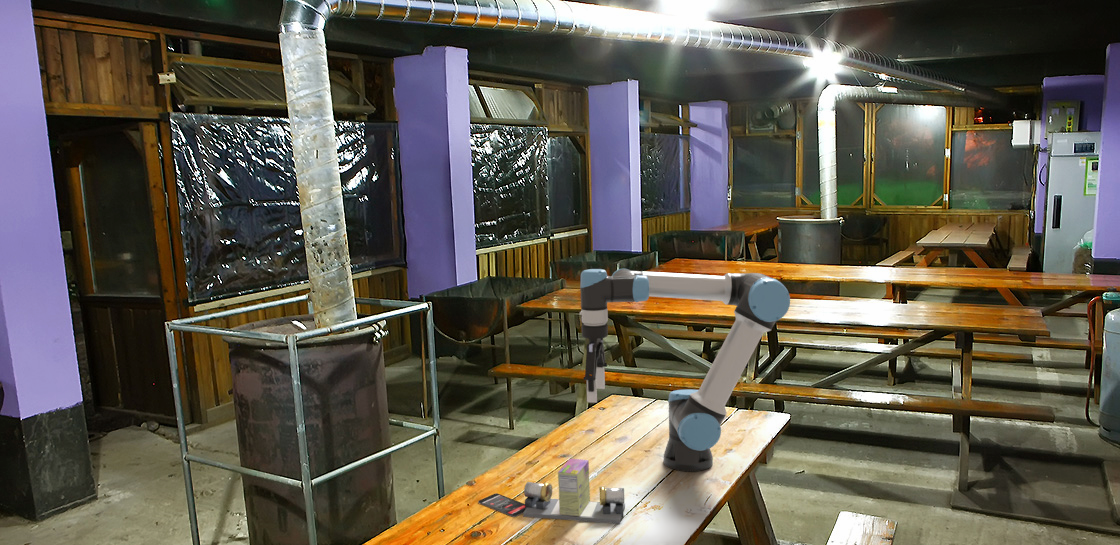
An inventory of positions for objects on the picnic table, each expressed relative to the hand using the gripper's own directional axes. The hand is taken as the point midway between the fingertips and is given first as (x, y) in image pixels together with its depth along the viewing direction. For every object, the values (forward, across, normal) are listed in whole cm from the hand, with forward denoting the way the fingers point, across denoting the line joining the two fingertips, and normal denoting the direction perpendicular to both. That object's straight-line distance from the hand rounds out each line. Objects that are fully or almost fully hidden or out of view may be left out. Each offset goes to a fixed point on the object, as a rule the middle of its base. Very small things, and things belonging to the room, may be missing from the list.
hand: (596, 395), depth 221 cm
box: (+26, +20, -3) cm, 33 cm away
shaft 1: (+27, +19, -13) cm, 36 cm away
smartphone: (+27, +19, -23) cm, 40 cm away
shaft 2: (+27, +19, +7) cm, 34 cm away
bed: (+27, +20, -3) cm, 33 cm away
